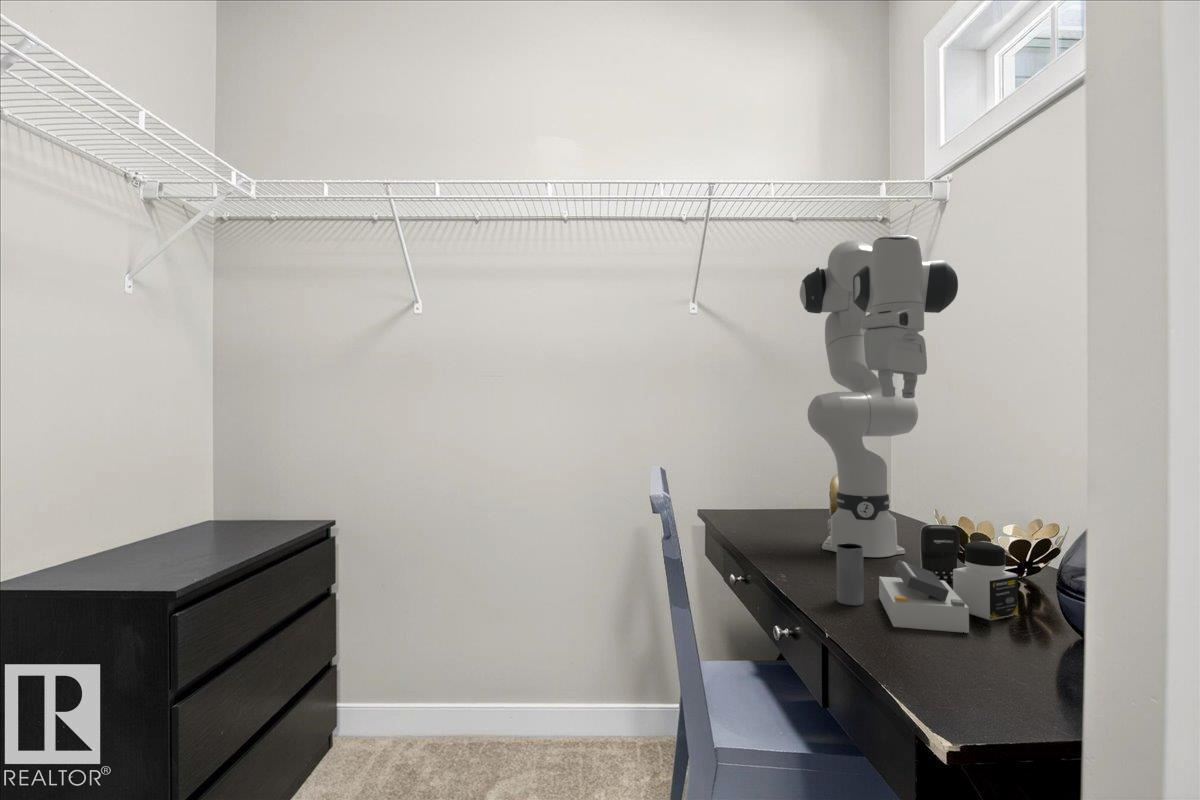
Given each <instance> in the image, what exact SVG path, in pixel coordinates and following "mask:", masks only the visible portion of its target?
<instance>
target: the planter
mask: <svg viewBox="0 0 1200 800" xmlns="http://www.w3.org/2000/svg"><path fill="white" fill-rule="evenodd" d="M836 600H837V602H838V603H840V604H841V605H846V606H851V605H852V606H854V607H855V606H861V605H863V604H864V557H863V546H861V545H857V544H850V543H841V544H838V545H837V552H836ZM852 606H851V607H852Z"/></svg>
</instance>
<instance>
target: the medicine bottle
mask: <svg viewBox="0 0 1200 800" xmlns="http://www.w3.org/2000/svg"><path fill="white" fill-rule="evenodd" d="M964 565H965V566H964V567H959V568H958V567H957V569H954V570H953V582H952V590H953V591H954V592H955V593H956V594H957V595H958V596H959V597H960V598H961V600H962V601H963V602H964V603H965V604H966V605H967V606H968V607H969V615H972V616H974V617H978V618H982V619H984V620H988V621H995V620H1000V619H1006V618H1009V617H1010V616H1011V617H1015V616H1017V615H1018V614H1019V596H1018V594H1019V592H1018V591H1019V579H1018V576H1019V575H1018V574H1017V573H1014V572H1010V571H1006V549H1005V547H1003V546H1002V545H1000V544H998V543H996V542H991V541H985V540H984V541H983V540H982V541H981V540H980V541H979V540H976V541H974V540H973V541H970V542H967V543H966V544H964ZM1014 615H1015V616H1014ZM1005 617H1006V618H1005Z"/></svg>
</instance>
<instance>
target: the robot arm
mask: <svg viewBox="0 0 1200 800" xmlns="http://www.w3.org/2000/svg"><path fill="white" fill-rule="evenodd" d="M919 242H920V241H919V239H918V238H917V237H916V236H913V235H908V234H907V235H906V234H903V235H902V234H900V235H888V236H886V235H885V236H881V237H878V238H877V239H875V240H874V241H873V243H872V245H870V244H868V243H866V242H863V241H860V240H846V241H843V242H841V243H839V244H837V245H836V246H834V248H832V250H831V251H830V254H829V255H828V259H827V267H826V268H821V269H820V267H819V266H818V267H816V268H815V270H814V271H813V272H810V273H808V274H807V275H806V276H805V277H804V278H803V279H802V281H801V284H800V288H799V300H800V302H801V304H802V305H803V309H804V310H805V311H806V312H807V313H810V314H821V313H829V314H828V315H827V317H826V319H825V323H824V326H825V327H824V342H825V343H824V344H825V349H826V356H827V361H828V367H829V373H830V375H831V377H832V379H833V381H834V382H835V383H837V384H838V385H839V386H842V387H844V388H846V389H848V390H850V391H834V392H828V393H823V394H818V395H815V397H814V398H812V400H811V401H810V403H809V406H808V409H807V420H808V423H809V425H810V427H811V429H812V430H813V431H814V432H815V433H816V434H817V435H819V436H820V437H821V438H823V439H824V441H826V443H827V444H828V445H829V447H830V448H831V450H832V453H833V455H834V457H835V461H836V468H837V481H838V484H837V485H838V486H837V487H838V491H837V492H836V497H835V500H836V501H835V502H836V507H837V509H836V510H835V512H833V513H832V515H831V516H830V518H828V520H827V529H828V530H829V531H828V537H826V539H825V540H824V542H823V544H822V545H821V548H822V550H824V551H825V550H826V551H830V552H835V553H837V545H838V544H841V543H850V544H857V545H861V546H863V558H886V557H891V556H896V555H904V554H906V551H905V548H904V547H902V546H901V545H898V535H897V534H898V531H897V530H898V529H897V519H896V517H894V516H893V515H892V514H891V513H890V511H889V510H890V502H891V501H890V495H889V493H888V466H887V463H886V462H885V460H884V459H883V458H882V457H881V456H880V455H878V454H876V453H875V452H873V451H871V450H868V449H867V448H866V447H865V445H864V442H863V437H893V436H899V435H905V434H909V433H910V432H912V430H913V429H914V428H915V426H916V425H917V422H918V419H919V409H918V406H917V404H916V402H915V400H914V398H915V397H916V396H915V395H916V391H915V390H916V387H917V383H918V376H921V375H926V373H927V370H928V360H927V346H926V341H925V337H924V336H923V335H921V334H920V333H919V332H922V331H924V330H925V313H930V314H931V313H932V314H934V313H935V314H939V313H940V312H943V311H945V309H946V308H948V307H949V306H950V305H951V304H952V303H953V302H954V300H955V299H956V297H957V294H958V291H959V290H958V289H959V281H958V275H957V273H956V271H955V270H954V268H953V267H952V266H951V265H950V264H949V263H947V262H946V261H945V260H942V259H940V260H939V259H938V260H930V261H923V257H922V251H921V246H920V243H919ZM867 313H869V314H867ZM866 314H867V315H866ZM894 374H897V375H902V377H903V378H902V380H903V388H902V389H901V390H899V389H898V388H897V387H895V386H894V382H893V377H894Z"/></svg>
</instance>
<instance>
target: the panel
mask: <svg viewBox="0 0 1200 800" xmlns="http://www.w3.org/2000/svg"><path fill="white" fill-rule="evenodd" d="M878 580H879V581H878V584H879V585H878V587H879V590H878V592H879V593H878V594H879V600H880V602H881V604H882V607H883V608H884V610H885V612H886V614H887V616H888V619H889V621H890V623H891V625H892V626H893V628H904V629H905V628H906V629H917V630H926V631H927V630H929V631H930V630H931V631H941V632H954V633H963V632H964V633H967V634H970V614H969V607H968V606H967V605H966V604H965V603H964V602H963V601H962V600H961V598H960V597H959V596H958V595H957V594H956V593H955V592H954V591H953V588H952V587H951V586H950V585H949V584H948V582H945V581H943V580H940V581H941V582H942V583H943V585H944V586H945V587H946V588H947V589H948V590H949V592H948V595H947V598H946V601H944V600H941V599H938V598H935V597H933V596H930V595H927V594H924V593H922V592H919V591H916V590H913V589H911V588H908V587H907V586H906V585H905V583H904V582H903V581H902V579H901V578H900V577H895V576H894V577H892V576H880V575H879V576H878Z"/></svg>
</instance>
